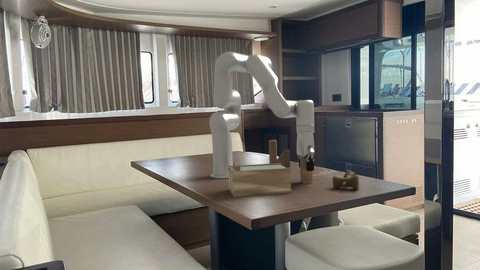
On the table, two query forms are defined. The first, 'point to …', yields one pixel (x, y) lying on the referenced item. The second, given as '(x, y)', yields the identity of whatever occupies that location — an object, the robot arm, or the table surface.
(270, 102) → the robot arm
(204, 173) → the table surface
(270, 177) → the wooden box
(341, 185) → the kendama
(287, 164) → the wooden block
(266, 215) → the table surface
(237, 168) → the lid
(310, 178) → the wooden square column
